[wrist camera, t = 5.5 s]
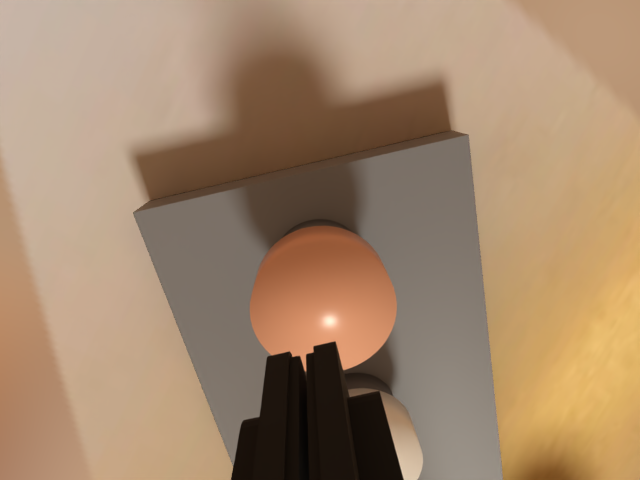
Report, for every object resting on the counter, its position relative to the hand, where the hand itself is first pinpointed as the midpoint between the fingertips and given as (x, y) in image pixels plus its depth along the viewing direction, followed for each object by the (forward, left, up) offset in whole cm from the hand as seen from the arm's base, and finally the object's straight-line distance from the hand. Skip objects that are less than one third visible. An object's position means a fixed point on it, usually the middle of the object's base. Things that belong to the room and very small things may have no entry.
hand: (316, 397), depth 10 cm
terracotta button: (0, 0, -6) cm, 6 cm away
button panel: (0, +8, -11) cm, 13 cm away
